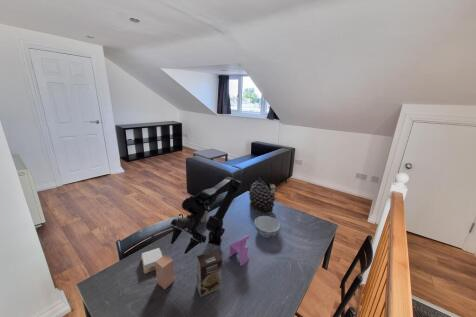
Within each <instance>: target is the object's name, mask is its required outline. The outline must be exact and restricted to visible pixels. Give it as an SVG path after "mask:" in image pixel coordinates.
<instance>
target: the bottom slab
mask: <svg viewBox="0 0 476 317" xmlns="http://www.w3.org/2000/svg"><path fill="white" fill-rule="evenodd" d="M160 252H161V255H162V256H163V253H162V250H161V249H160ZM141 263H142V269H143V273H144V275H145V274H148V273H149V272H150V273H151V272H153V271H156V266H153V267H151V268H148V269H145V268H144V263H143V259H142V258H141Z"/></svg>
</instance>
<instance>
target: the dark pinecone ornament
mask: <svg viewBox="0 0 476 317" xmlns="http://www.w3.org/2000/svg"><path fill="white" fill-rule="evenodd" d="M275 192H276V184H274V183H270V182H269V181H268V180H265V178H263V177H262V176H258V178H257V180H255V182H253V183H252V184H250V189H249V193H248V195H249V207H250V209H251V210H252V211H254V212H256V213H257V214H259V215H262V216H270V215H271V214H272V213H273V211H274V207H275V201H276V198H275V196H276V195H275Z"/></svg>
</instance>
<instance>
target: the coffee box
mask: <svg viewBox="0 0 476 317" xmlns="http://www.w3.org/2000/svg"><path fill="white" fill-rule="evenodd" d="M222 266H223V259H222V258H221V255H220V254H219V252H218V249H215V250H212V251H209V252H205V253H202V254H200V255H197V256H196V288H197V291H198V293H199V296H200V297H201V298H202V297H204V296H207V295H208V294H211V293H213V292H214V293H215V292H216V291H218V290H221V287H222V271H223V270H222Z"/></svg>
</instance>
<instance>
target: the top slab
mask: <svg viewBox="0 0 476 317" xmlns="http://www.w3.org/2000/svg"><path fill="white" fill-rule="evenodd" d="M160 250H161V249H160V247H157V248H153V249H151V250H149V251H145V252H142V253H141V260H142V259H143V263H144V268H145V269H148V268H151V267H153V266H156V263H155V261H157V260H158V259H160V258H161V257H162V256H163V254H162V255H161V253H162V251H161V252H160Z"/></svg>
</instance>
